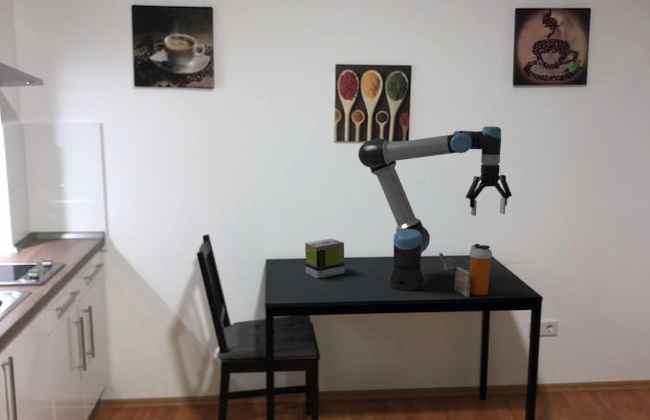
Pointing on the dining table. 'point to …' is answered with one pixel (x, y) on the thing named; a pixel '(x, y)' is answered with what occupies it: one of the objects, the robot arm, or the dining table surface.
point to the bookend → (462, 281)
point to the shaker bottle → (480, 268)
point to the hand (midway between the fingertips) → (488, 214)
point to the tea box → (324, 258)
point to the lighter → (447, 262)
